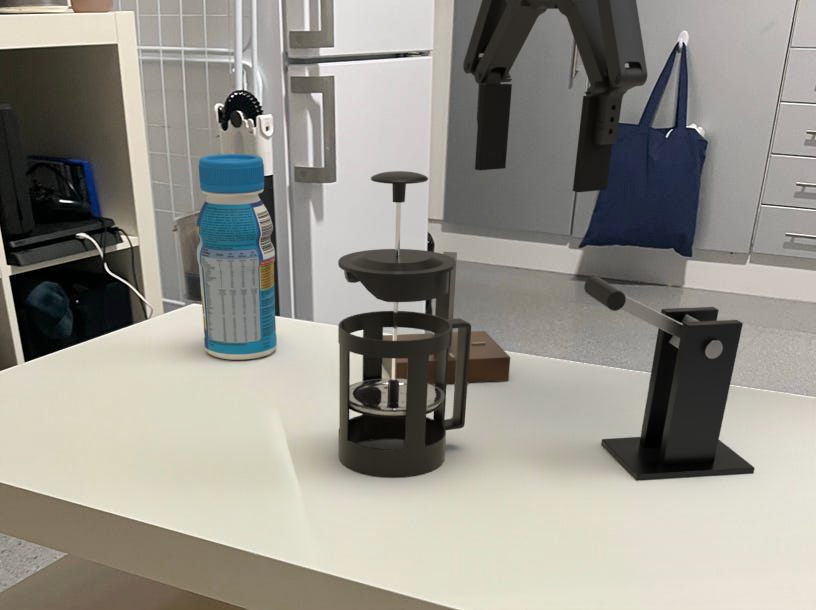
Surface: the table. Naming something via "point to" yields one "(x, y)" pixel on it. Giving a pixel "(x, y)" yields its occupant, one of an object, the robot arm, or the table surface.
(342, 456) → the french press
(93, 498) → the table surface
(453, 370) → the brown box
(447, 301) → the dark gray upright plate
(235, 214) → the beverage bottle
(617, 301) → the lever
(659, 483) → the table surface
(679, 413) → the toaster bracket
